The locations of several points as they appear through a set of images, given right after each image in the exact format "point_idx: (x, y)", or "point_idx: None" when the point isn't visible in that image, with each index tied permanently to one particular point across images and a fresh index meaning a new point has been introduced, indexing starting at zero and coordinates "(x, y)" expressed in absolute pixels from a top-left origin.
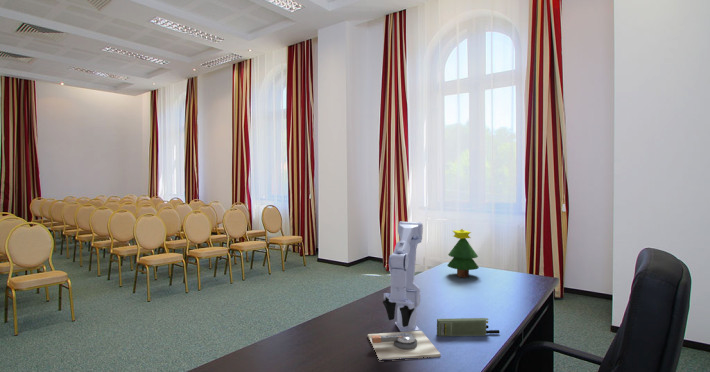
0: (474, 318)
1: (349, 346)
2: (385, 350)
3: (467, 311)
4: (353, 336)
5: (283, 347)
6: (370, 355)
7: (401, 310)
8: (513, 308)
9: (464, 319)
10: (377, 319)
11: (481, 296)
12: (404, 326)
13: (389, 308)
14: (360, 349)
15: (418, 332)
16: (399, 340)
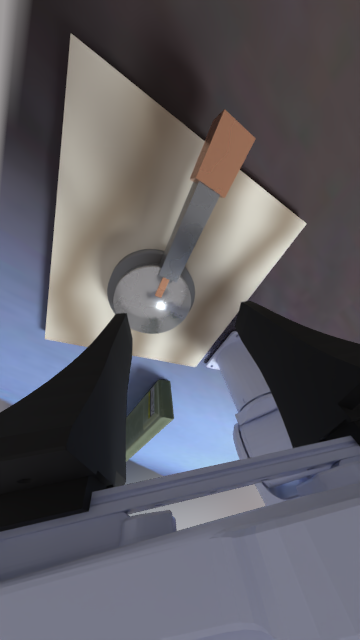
0: (128, 457)
1: (331, 25)
2: (148, 177)
3: (204, 438)
4: (355, 164)
5: None
6: (169, 65)
7: (37, 422)
8: (172, 466)
9: (134, 448)
10: (326, 323)
11: (224, 457)
12: (113, 317)
13: (292, 353)
14: (257, 70)
15: (192, 358)
16: (143, 267)
